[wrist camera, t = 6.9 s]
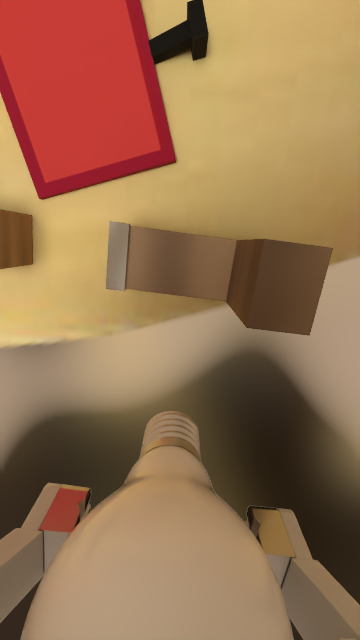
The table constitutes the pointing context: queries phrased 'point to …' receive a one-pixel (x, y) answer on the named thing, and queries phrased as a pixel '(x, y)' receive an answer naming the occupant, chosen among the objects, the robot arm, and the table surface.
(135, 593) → the lightbulb
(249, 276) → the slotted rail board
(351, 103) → the table surface
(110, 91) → the red board with handle
